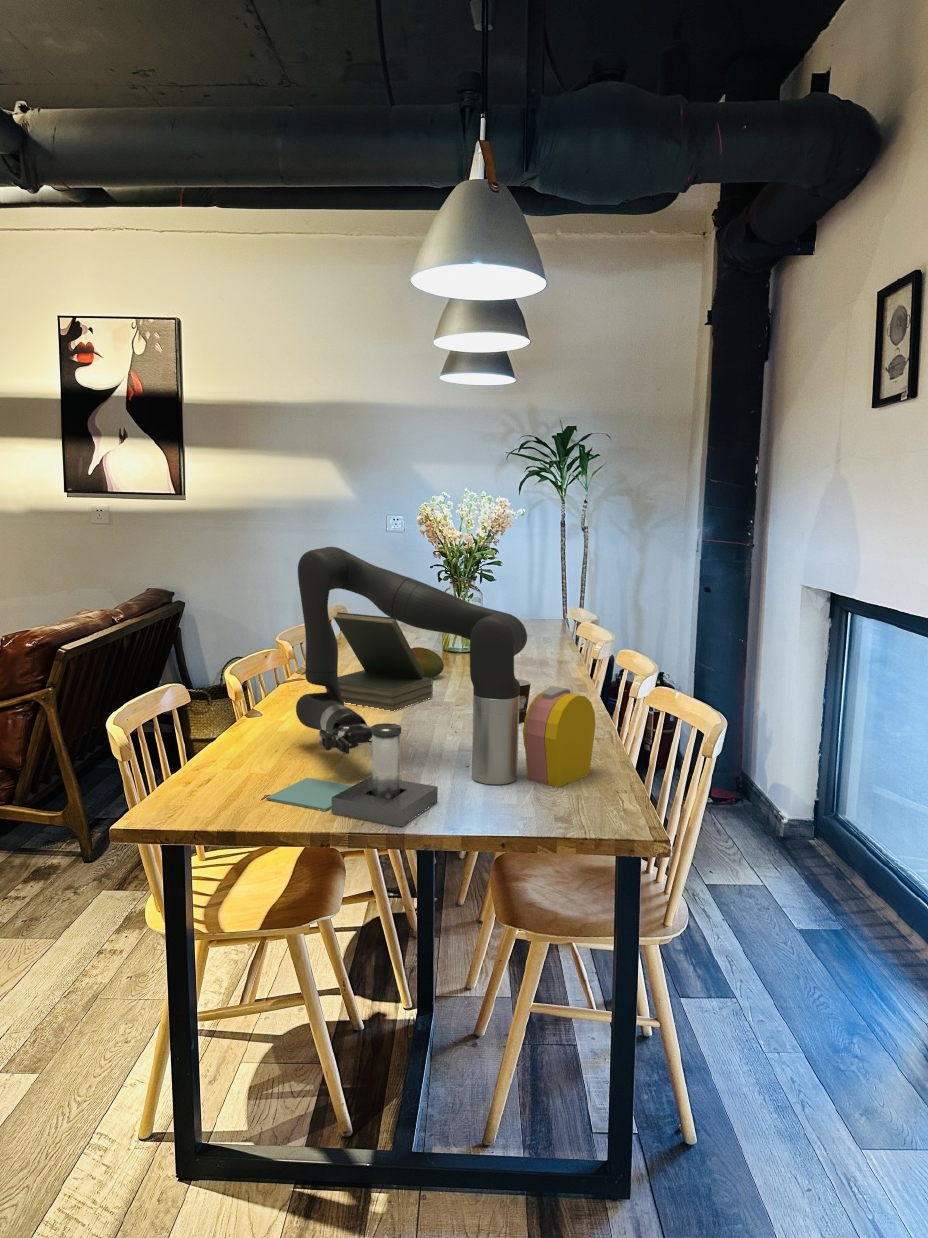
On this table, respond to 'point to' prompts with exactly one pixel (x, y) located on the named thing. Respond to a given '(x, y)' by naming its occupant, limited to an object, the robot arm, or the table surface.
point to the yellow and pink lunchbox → (558, 737)
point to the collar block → (384, 802)
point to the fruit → (428, 661)
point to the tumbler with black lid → (386, 760)
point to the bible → (381, 664)
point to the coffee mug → (523, 698)
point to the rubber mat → (310, 793)
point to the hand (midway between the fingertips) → (369, 746)
